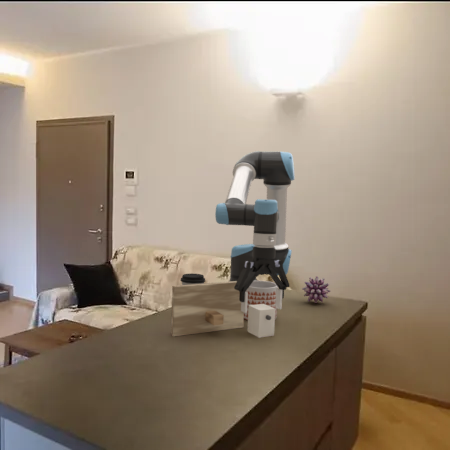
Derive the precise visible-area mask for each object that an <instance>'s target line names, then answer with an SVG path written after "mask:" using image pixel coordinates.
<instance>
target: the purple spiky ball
mask: <svg viewBox="0 0 450 450" xmlns="http://www.w3.org/2000/svg"><path fill="white" fill-rule="evenodd" d="M308 278H309V280H308V281H309V282H308V281H304V285H306V286H305V287H302V288H301V290H303V291H304V292H305V293H304V294H303V296H304V297H308V299H307V301H308V302H310V301H314V304H315V303H317V304H318V301H319V302H321V303H324V301H323V300H324V298H325V299H328V297H329V296H328V295H327V294H329V293H330V292H331V290H329V286H330V284H329V283H325V278H324V277H322V278H320V279H319V277H318V276H317V275H316V276H315V278H314V279H313V278H312V277H308Z"/></svg>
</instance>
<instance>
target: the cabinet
mask: <svg viewBox="0 0 450 450" xmlns="http://www.w3.org/2000/svg"><path fill="white" fill-rule="evenodd" d="M275 320H276V319H275V308H272V307H270V306H268V305H265V304H256V305H249V308H248V320H247V332H248V333H249V334H251V335H253V336H255V337H256V338H259V339H261V338H264V337H271V336H272V337H274V336H275V322H276V321H275Z"/></svg>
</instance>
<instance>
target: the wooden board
mask: <svg viewBox="0 0 450 450" xmlns="http://www.w3.org/2000/svg"><path fill="white" fill-rule="evenodd" d="M236 282H237V281H231V282H229V281H222V282H221V281H220V282H219V281H218V282H207V283H206V282H204V284H190V285H182V284H177V285H171V286H172V287H171V288H172V289H171V291H172V292H171V322H170V323H171V324H170V325H171V326H170V328H171V329H170V335H171V336H172V337H179V336H187V335H195V334H202V333H210V332H217V331H225V330H233V329H241V328H244V321H245V319H244V312H242V311H241V302H240V300H239V295H240V292H239V291H238V290H235V289H234V287H235V285H236Z"/></svg>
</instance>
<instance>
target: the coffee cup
mask: <svg viewBox="0 0 450 450" xmlns="http://www.w3.org/2000/svg"><path fill="white" fill-rule="evenodd" d="M180 282H181V285H190V284H204V283H206V278H205V277H204V275H203V274H200V273H184V274H182V276H181V278H180Z"/></svg>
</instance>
